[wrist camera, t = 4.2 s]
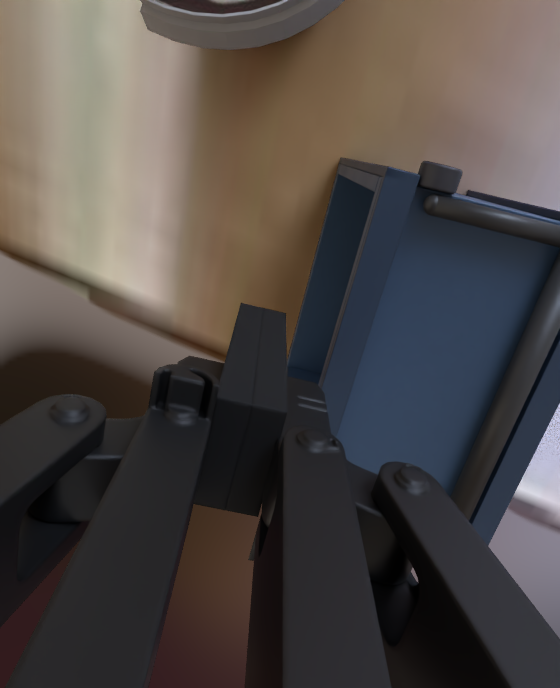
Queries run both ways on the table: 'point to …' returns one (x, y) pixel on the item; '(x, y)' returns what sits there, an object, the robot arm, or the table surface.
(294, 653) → the robot arm
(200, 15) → the food container
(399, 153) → the table surface
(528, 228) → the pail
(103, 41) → the table surface
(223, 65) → the table surface
